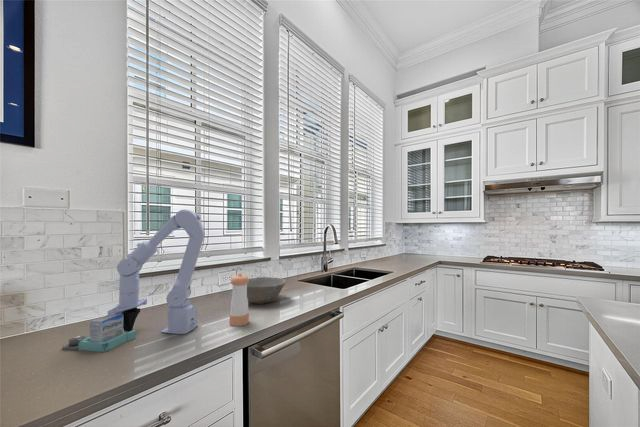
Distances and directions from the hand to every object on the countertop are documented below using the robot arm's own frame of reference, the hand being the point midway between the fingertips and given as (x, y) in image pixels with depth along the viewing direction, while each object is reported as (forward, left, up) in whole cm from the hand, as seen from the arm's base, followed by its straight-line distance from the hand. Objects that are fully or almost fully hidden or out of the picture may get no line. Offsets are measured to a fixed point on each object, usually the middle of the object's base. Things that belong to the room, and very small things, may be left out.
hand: (128, 330), depth 95 cm
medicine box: (0, +8, -1) cm, 8 cm away
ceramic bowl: (-33, -45, -1) cm, 56 cm away
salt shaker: (-34, -16, -1) cm, 38 cm away
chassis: (+2, +8, -1) cm, 8 cm away
